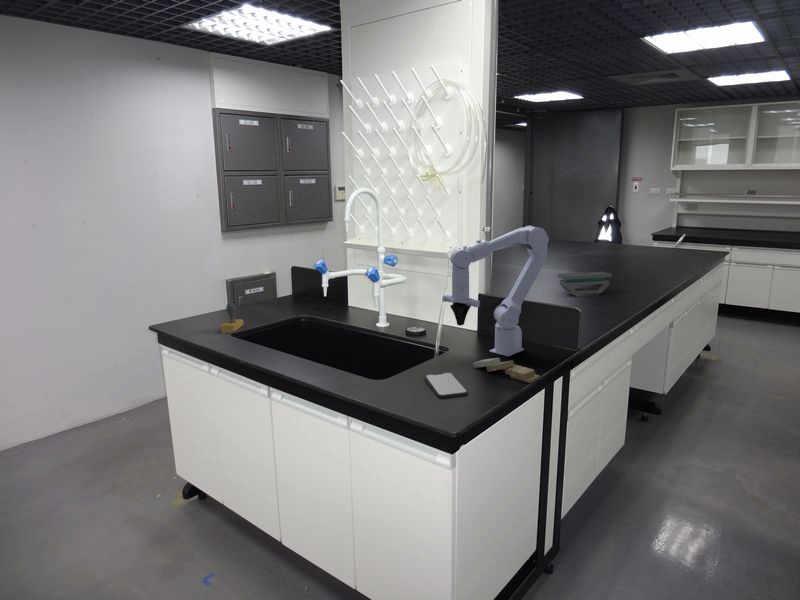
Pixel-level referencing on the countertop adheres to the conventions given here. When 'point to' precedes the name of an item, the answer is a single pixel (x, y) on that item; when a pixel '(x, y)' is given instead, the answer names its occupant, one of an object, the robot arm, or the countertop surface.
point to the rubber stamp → (231, 320)
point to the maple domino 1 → (500, 366)
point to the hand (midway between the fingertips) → (460, 324)
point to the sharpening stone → (585, 282)
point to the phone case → (445, 385)
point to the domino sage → (486, 362)
